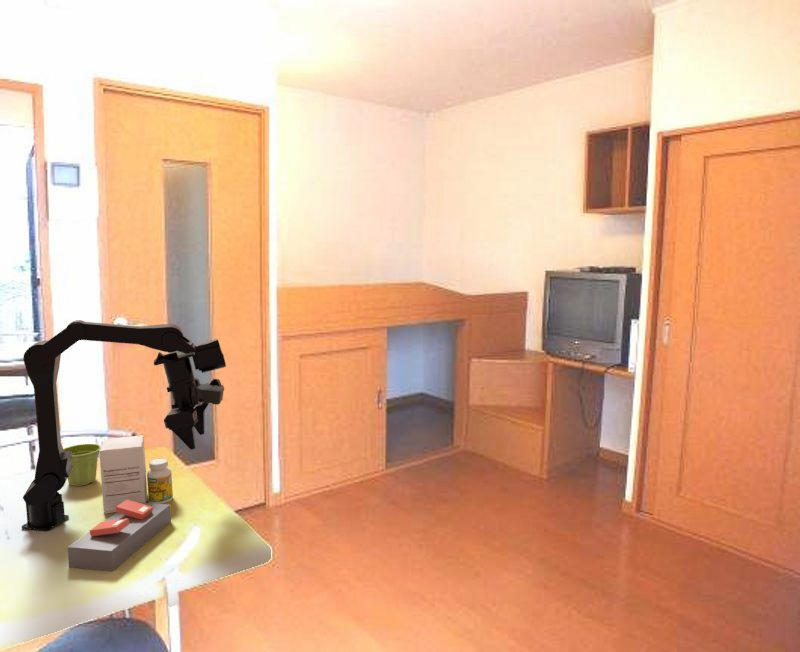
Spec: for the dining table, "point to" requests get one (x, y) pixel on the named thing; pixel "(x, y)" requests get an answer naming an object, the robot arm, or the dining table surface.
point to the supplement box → (123, 471)
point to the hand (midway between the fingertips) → (197, 441)
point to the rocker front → (109, 527)
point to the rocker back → (134, 509)
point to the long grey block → (118, 540)
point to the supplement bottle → (159, 482)
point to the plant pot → (83, 463)
